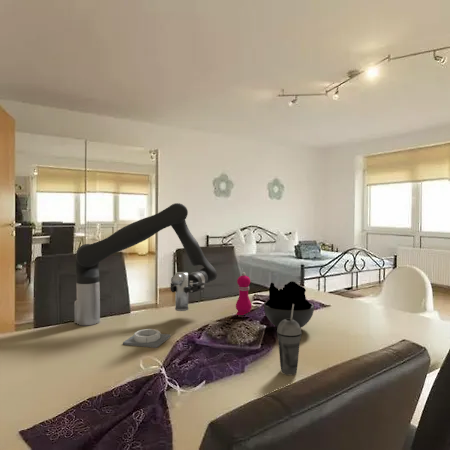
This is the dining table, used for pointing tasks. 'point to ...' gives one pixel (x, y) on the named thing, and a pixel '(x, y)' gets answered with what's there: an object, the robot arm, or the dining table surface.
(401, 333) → the dining table surface
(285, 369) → the beverage cup
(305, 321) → the bowl of black rocks
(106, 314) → the dining table surface
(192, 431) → the dining table surface
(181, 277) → the duct elbow
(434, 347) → the dining table surface
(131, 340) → the plate
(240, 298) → the pepper mill
